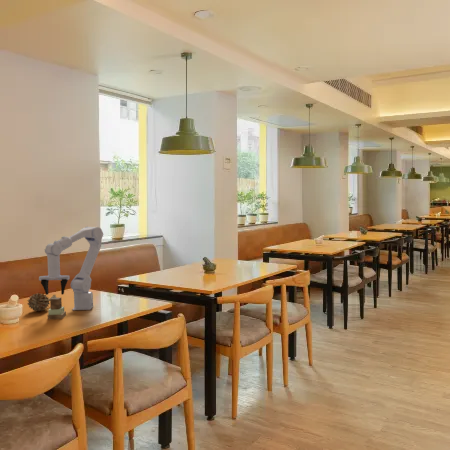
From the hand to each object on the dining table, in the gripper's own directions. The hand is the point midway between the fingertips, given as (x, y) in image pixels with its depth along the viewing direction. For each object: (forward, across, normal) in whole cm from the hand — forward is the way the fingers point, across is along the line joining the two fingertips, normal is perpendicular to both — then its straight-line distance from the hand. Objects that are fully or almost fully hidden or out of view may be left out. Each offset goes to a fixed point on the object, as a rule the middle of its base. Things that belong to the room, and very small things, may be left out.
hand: (54, 294), depth 243 cm
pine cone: (+11, -10, +12) cm, 19 cm away
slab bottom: (+11, +2, -5) cm, 12 cm away
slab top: (+8, +2, -5) cm, 10 cm away
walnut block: (+6, +2, -6) cm, 8 cm away
